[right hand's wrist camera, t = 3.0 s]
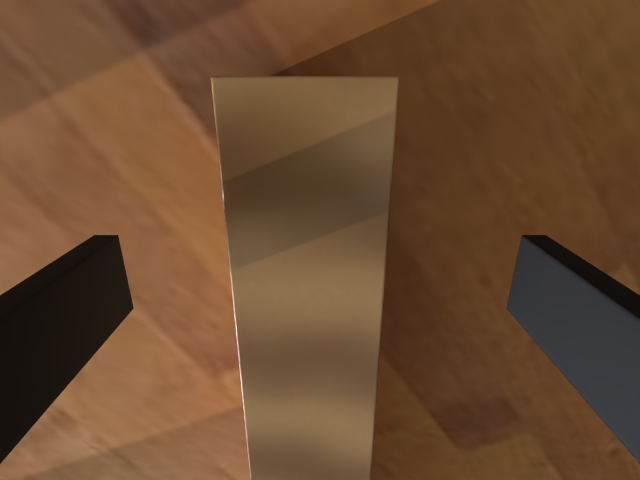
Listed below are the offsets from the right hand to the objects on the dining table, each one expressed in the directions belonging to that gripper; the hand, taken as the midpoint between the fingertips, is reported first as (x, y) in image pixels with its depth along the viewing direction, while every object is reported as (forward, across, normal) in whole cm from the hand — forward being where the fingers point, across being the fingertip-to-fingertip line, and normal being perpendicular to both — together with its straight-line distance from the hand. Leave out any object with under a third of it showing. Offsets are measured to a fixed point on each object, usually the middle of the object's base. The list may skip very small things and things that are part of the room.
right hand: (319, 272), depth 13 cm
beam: (+8, 0, -30) cm, 31 cm away
